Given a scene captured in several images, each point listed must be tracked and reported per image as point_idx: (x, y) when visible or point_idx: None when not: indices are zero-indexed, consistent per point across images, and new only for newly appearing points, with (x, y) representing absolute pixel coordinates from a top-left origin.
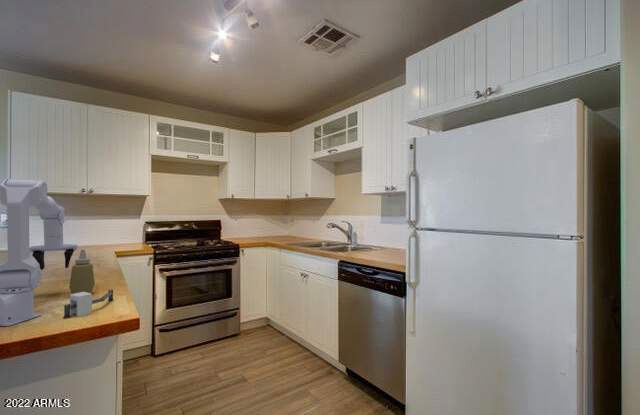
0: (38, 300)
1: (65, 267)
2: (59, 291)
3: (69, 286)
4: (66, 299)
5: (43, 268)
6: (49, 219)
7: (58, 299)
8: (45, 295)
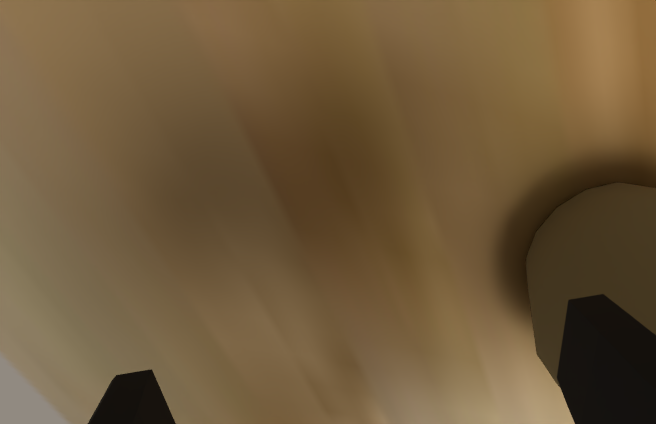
0: (276, 356)
1: (567, 393)
2: (311, 11)
3: (544, 363)
4: (501, 373)
5: (169, 420)
6: None
7: (435, 360)
8: (241, 183)
